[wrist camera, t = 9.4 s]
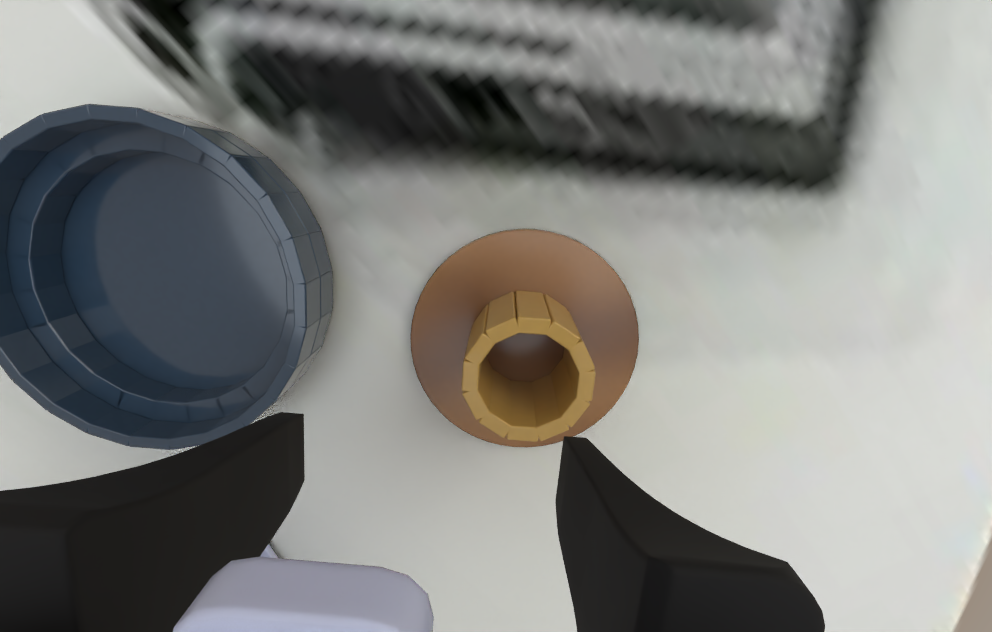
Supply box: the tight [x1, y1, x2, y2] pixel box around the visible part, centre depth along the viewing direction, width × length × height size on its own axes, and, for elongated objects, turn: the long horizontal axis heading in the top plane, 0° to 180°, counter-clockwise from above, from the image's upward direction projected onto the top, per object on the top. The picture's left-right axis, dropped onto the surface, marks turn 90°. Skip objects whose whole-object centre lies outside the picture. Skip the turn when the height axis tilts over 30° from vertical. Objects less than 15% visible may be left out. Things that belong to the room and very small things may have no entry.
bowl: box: [0, 104, 333, 450], centre depth 21 cm, size 13×13×4 cm
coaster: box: [411, 229, 639, 447], centre depth 22 cm, size 10×10×1 cm
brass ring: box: [461, 291, 596, 442], centre depth 20 cm, size 5×5×4 cm
